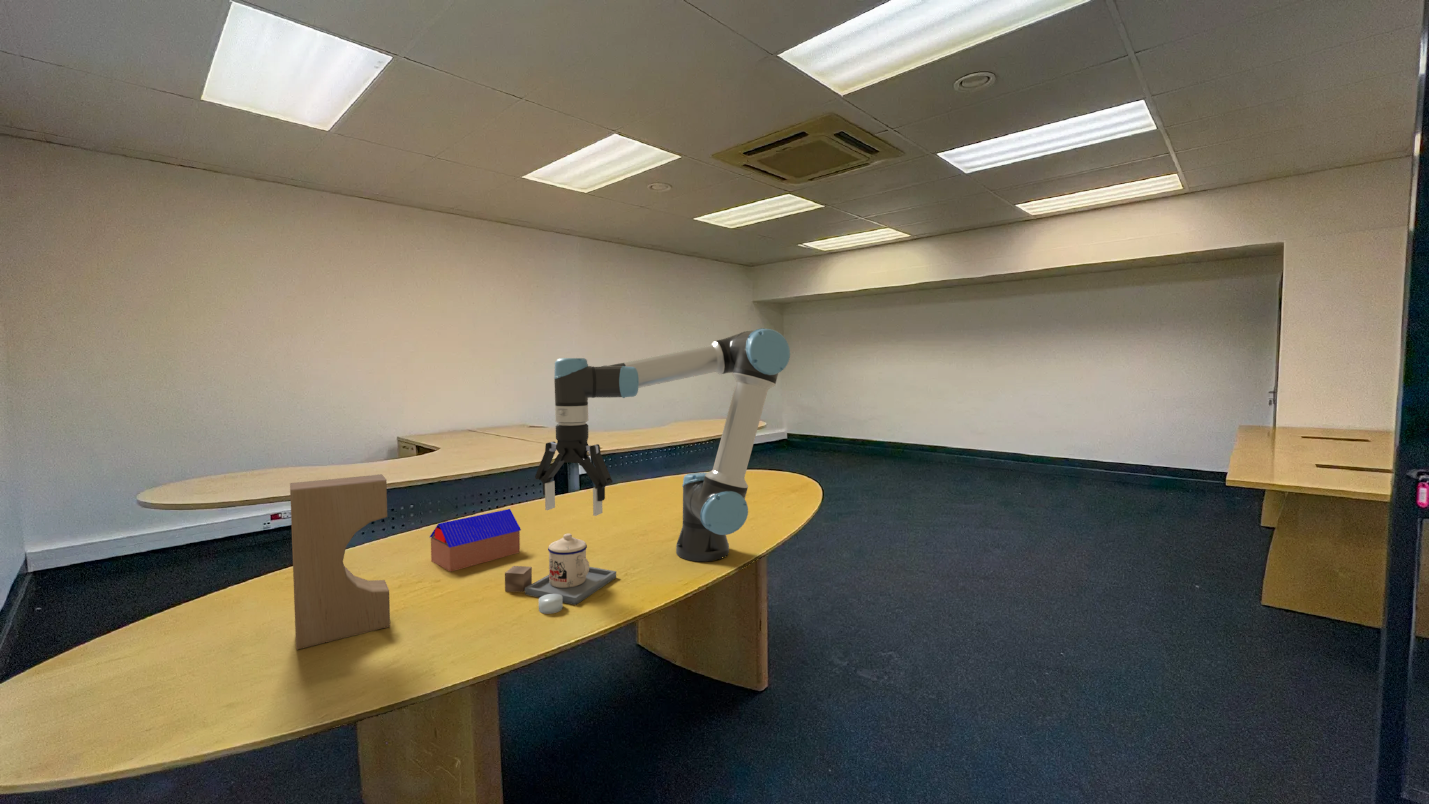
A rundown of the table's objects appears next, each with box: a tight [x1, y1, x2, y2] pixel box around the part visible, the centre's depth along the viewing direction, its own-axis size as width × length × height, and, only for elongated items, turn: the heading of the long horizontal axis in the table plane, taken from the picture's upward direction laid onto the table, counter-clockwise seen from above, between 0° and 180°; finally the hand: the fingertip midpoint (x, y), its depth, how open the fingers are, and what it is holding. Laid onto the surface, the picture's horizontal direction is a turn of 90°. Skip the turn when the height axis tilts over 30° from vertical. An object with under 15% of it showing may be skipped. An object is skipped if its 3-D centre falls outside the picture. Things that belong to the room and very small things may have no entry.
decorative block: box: [289, 474, 391, 650], centre depth 106 cm, size 15×8×30 cm, turn 128°
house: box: [429, 508, 522, 573], centre depth 148 cm, size 12×20×12 cm, turn 140°
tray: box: [524, 566, 617, 606], centre depth 130 cm, size 14×17×2 cm
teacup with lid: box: [547, 533, 590, 588], centre depth 130 cm, size 12×9×12 cm
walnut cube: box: [504, 565, 533, 593], centre depth 128 cm, size 4×4×4 cm
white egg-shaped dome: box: [538, 594, 563, 615], centre depth 118 cm, size 5×5×2 cm
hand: (573, 511), depth 129 cm, fingers open, 13 cm apart
